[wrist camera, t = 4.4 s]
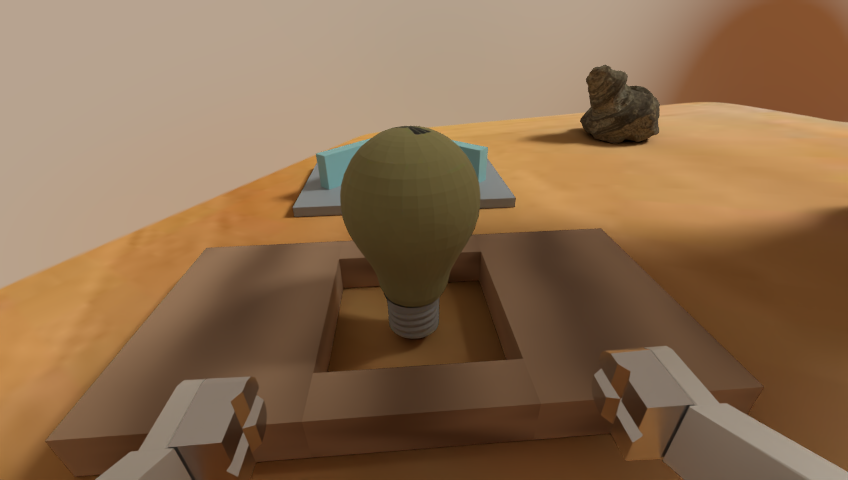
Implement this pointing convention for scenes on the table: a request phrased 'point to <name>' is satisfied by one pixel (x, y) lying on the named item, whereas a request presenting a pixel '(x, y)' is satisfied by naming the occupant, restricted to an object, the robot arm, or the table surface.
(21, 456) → the table surface
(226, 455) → the robot arm
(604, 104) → the seashell
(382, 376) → the wooden board with hole
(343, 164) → the V-block
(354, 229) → the light bulb
